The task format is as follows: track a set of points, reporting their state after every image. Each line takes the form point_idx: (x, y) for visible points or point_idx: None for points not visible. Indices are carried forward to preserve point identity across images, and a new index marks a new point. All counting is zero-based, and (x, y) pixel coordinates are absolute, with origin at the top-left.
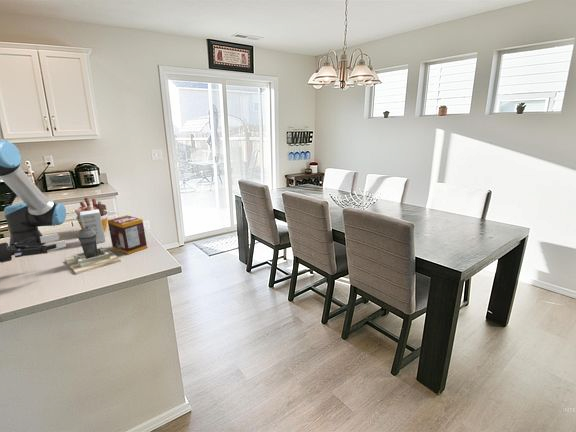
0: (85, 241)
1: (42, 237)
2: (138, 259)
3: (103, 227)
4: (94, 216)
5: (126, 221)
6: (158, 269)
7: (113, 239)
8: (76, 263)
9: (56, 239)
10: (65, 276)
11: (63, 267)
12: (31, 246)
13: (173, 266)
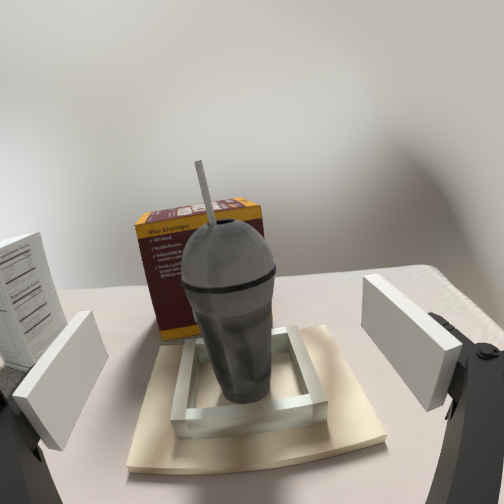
0: (269, 294)
1: (40, 390)
2: (340, 303)
3: None
4: (30, 250)
5: (228, 204)
6: (432, 279)
7: (173, 299)
8: (249, 438)
9: (100, 366)
10: (387, 478)
11: (223, 495)
12: (472, 485)
13: (423, 266)
